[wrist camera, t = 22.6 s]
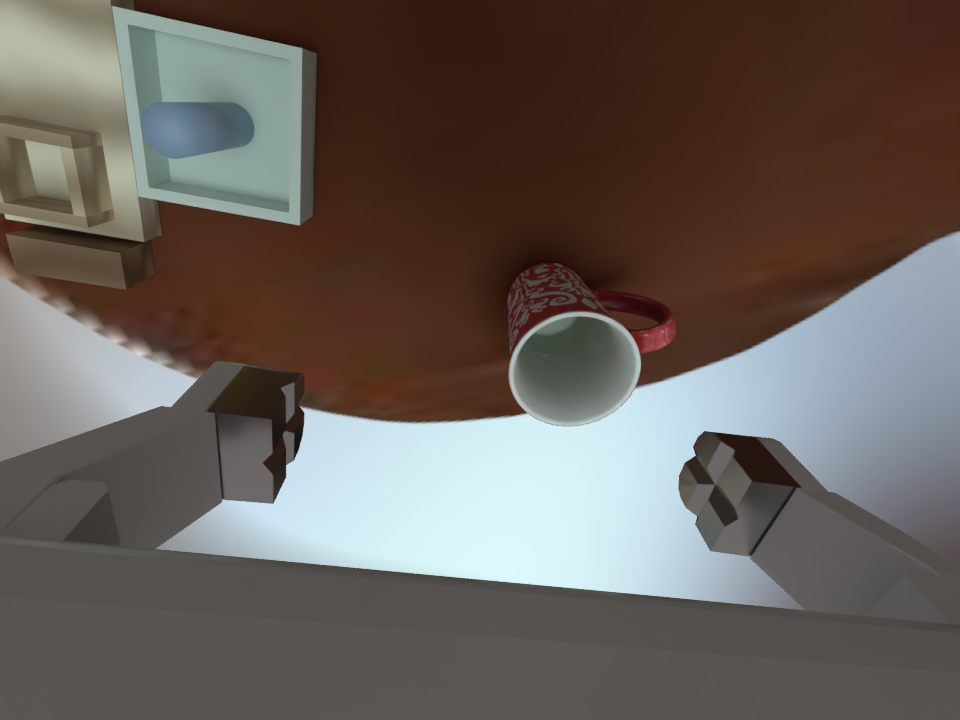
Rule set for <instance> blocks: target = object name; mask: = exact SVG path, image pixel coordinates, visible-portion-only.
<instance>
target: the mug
mask: <svg viewBox="0 0 960 720" xmlns="http://www.w3.org/2000/svg"><path fill="white" fill-rule="evenodd" d="M608 310H609V311H617V312H623V313H628V314H633V315H638V316H642V317H645V318H648V319H651V320H654V321H656V322H658V323H660V324H658V325H656V326H654V327H652V328H646V329H641V330H631V329H626V328H625V327H624V326H623V325H622V324H621V323H619V322H618V321H617V320H615V319H614V318H613V316H612V315H611V314H610V313H609V312H608ZM507 313H508V330H509V352H510V362H509V369H508V378H509V385H510V388H511V391H512V393H513V396H514V398H515V399H516V401H517V402H518V404H519V405H520V406H521V407H522V408H523V409H524V410H525V411H526V412H527V413H528V414H530V415H531V416H532V417H534V418H536V419H538V420H540V421H542V422H545V423H548V424H552V425H557V426H579V425H584V424H589V423H592V422H595V421H598V420H600V419H602V418H604V417H606V416H608V415H610V414H611V413H613V412H614V411H615V410H617V409H618V408H619V407H620V406H622V405H623V404H624V403H625V402H626V400H627V399H628V398H629V397H630V395H631V394H632V392H633V390H634V389H635V387H636V384H637V382H638V379H639V375H640V370H641V357H640V353H645V352H651V351H655V350H658V349H661V348H663V347H665V346H667V345H668V344H669V343H671V342H672V340H673V339H674V337H675V334H676V325H675V321H674V317H673V314H672V312H671V311H670V310H669V308H668V307H666V306H665V305H664V304H662V303H660V302H659V301H656V300H654V299H651V298H648V297H644V296H640V295H635V294H630V293H623V292H615V291H606V290H592V289H589V288H588V287H587V286H586V285H585V283H584V282H583V281H582V279H581V278H580V277H579V276H578V275H577V274H576V273H575V272H574V271H573V270H572V269H570V268H569V267H567V266H564V265H562V264H558V263H550V262H549V263H539V264H536V265H533V266H531V267H529V268H527V269H526V270H524V271H523V272H522V273H521V274H519V275H518V277H517V278H516V279H515V280H514V281H513V283H512V285H511V287H510V289H509V292H508V297H507Z"/></svg>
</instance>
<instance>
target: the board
mask: <svg viewBox="0 0 960 720" xmlns="http://www.w3.org/2000/svg"><path fill="white" fill-rule="evenodd" d="M112 6H114V7H119V8H123V9H128V10H132V11H135V10H134V2H133V0H0V213H2V214H5V218H6V219H10V220H16V221H22V222H28V223H34V224H40V225H46V226H52V227H58V228H64V229H70V230H76V231H81V232H87V233H93V234H99V235H105V236H111V237H117V238H123V239H129V240H135V241H141V242H146V241H148V240H150V239H153V238H155V237H157V236H160V235H162V231H161V223H160V215H159V206H158V200H155V199H150V198H144V197H139V196H138V189H137V182H136V175H135V168H134V161H133V154H132V146H131V139H130V132H129V125H128V118H127V111H126V104H125V96H124V89H123V82H122V75H121V68H120V61H119V54H118V46H117V39H116V32H115V25H114V18H113V11H112Z"/></svg>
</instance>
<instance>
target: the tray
mask: <svg viewBox="0 0 960 720" xmlns="http://www.w3.org/2000/svg"><path fill="white" fill-rule="evenodd" d="M112 11H113V18H114V25H115V32H116V39H117V46H118V54H119V61H120V68H121V75H122V82H123V89H124V96H125V104H126V111H127V118H128V125H129V132H130V139H131V146H132V154H133V161H134V168H135V175H136V182H137V189H138V196H139V197H144V198H150V199H155V200H161V201H167V202H172V203H178V204H183V205H189V206H195V207H200V208H206V209H211V210H217V211H222V212H228V213H234V214H239V215H245V216H250V217H256V218H261V219H267V220H273V221H278V222H284V223H289V224H295V225H301V224H302V223H304V222H305V221H307V220H308V219H309V218H311V217H312V216H313V192H314V154H315V115H316V76H317V53H314V52H311V51H308V50H305V49H303V48H298V47H294V46H289V45H285V44H280V43H276V42H271V41H267V40H262V39H258V38H254V37H249V36H245V35H240V34H236V33H231V32H227V31H222V30H218V29H213V28H209V27H204V26H200V25H195V24H191V23H186V22H182V21H177V20H173V19H168V18H164V17H159V16H155V15H150V14H146V13H141V12H137V11H132V10H128V9H123V8H119V7H114V6H112ZM155 102H230V103H235V104H238V105H240V106H241V107H243V108H244V109H245V110H246V111H247V112H248V113H249V115H250V116H251V118H252V120H253V123H254V136H253V138H252V140H251V142H250V143H248V144H247V145H245V146H242V147H237V148H232V149H227V150H222V151H217V152H212V153H206V154H201V155H196V156H191V157H186V158H181V159H172V158H168V157H165V156H163V155H161V154H160V153H158V152H157V151H155V150H154V149H153V148H152V147H151V146H150V144H149V143H148V142H147V140H146V138H145V137H144V134H143V131H142V127H141V117H142V114H143V111H144V110H145V109H146V107H147V106H149V105H150V104H152V103H155Z"/></svg>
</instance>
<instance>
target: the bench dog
mask: <svg viewBox="0 0 960 720" xmlns="http://www.w3.org/2000/svg"><path fill="white" fill-rule="evenodd" d="M6 237H7V240H8V244H9V248H10V251H11V255H12V258H13V262H14V266H15V269H16V272H17V273H24V274H30V275H37V276H43V277H49V278H56V279H62V280H68V281H75V282H81V283H88V284H94V285H100V286H107V287H113V288H119V289H128V288H130V287H132V286H134V285H136V284H137V283H139V282H141V281H143V280H145V279H146V278H148V277H150V276H152V275H154V274H155V271H154V264H153V256H152V249H151V242H150V240H148V241H146V242H141V241H135V240H129V239H123V238H117V237H111V236H105V235H99V234H93V233H87V232H81V231H76V230H70V229H64V228H58V227H52V226H46V225H37V226H33V227H30V228H26V229H22V230H19V231H15V232H12V233H8V234H6Z"/></svg>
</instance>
